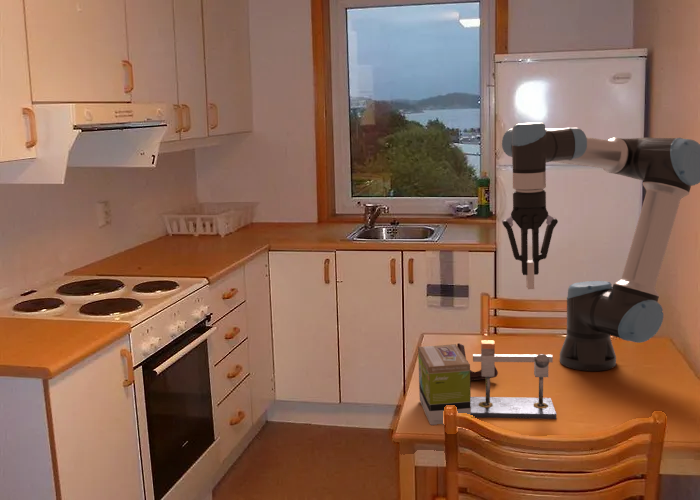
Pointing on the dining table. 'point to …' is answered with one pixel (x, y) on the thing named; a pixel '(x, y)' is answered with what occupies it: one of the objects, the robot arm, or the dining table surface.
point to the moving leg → (488, 363)
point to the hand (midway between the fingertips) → (530, 287)
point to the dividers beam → (539, 361)
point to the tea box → (443, 381)
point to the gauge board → (512, 408)
